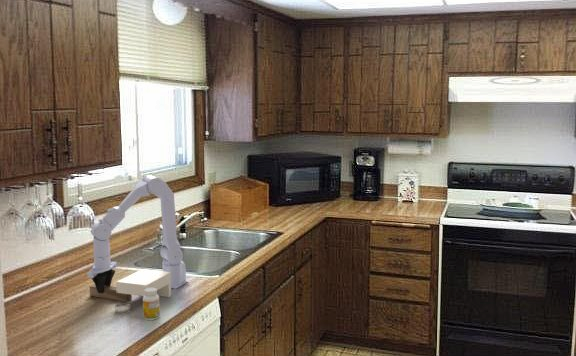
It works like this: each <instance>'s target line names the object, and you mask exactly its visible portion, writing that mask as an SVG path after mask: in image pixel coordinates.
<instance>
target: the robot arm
mask: <svg viewBox="0 0 576 356" xmlns="http://www.w3.org/2000/svg"><path fill="white" fill-rule="evenodd" d="M150 194H152V195H154V196H156V198H158V199H160V208H161V224H162V225H161V226H162V237H163V238H162V241H161V247H160V251H159V254H160V256H161V258H162V271H165V272H171V289H178V288H180V287H181V286H183V285H185V284H186V283H188V282H189V280H187V275H186V274H187V272H186V271H187V269H186V267H187V266H186V263H185V262H184V261H183V258H184V253H183V251H182V249H181V245H180V242H179V240H178V236H177V232H178V231H177V221H176V207H175V194H174V192H173V190H172V189H171V188H170V187H169V186H168V183H167V182H166V181H165V180H163V179H162V178H159V177H156V176H154V175H151V174H148V175H145V176H144V177H142V179H141V180H140V181H139V182H137V184H136V185H135V186H134V187H133V189H131V190H130V192H129V193H128V194H127V196H126V197H125V198H124V199H123V200H122V201H121V203H119V205H118V206H112V208H108V209H107V213H106V214H105V215H104V216H103V217H101V218H99V219H98V222H96V223H94V224H93V225H92V227H91V230H90V233H91V235H92V236H93V237H92V238H93V239H92V240H93V246H92V248H93V266H92V267H91V268H92V269H90V270H89V271H88V272H87V278H88V279H91V280H92V282H93V283H94V284H95V286H96V288H97V291H98V293H104V285H106V286H112V280H113V277H114V275H115V274H116V269H115V268H118V261H111V245H110V244H111V243H110V238H111V235H112V231H114V229H115V228H117V226H118V225H119V224H120V223H121V222H122V221H123V220H124V219H125V218H126V217H125V216H126V212H127V211H128V210H129V209H130V208H131V207H133V205H134V204H136V203H137V201H138V200H139V199H141V198H143V197H149V196H151V195H150Z"/></svg>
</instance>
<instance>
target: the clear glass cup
mask: <svg viewBox="0 0 576 356" xmlns="http://www.w3.org/2000/svg"><path fill="white" fill-rule="evenodd" d="M130 311H131V304H130V303H128V302H123V303H122V302H121V303H118V304H115V306H114V312H115V314H126V313H129V312H130Z"/></svg>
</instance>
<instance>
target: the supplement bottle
mask: <svg viewBox="0 0 576 356" xmlns="http://www.w3.org/2000/svg"><path fill="white" fill-rule="evenodd" d="M160 306H161V305H160V296H158V295H157V289H156V288H147V289H145V296H142V313H143V314H142V315H143V317H142V318H143V319H144V320H146V321H155V320H158V319H159V318H160V316H161V314H160V313H161V308H160Z"/></svg>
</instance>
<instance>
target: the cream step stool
mask: <svg viewBox="0 0 576 356" xmlns="http://www.w3.org/2000/svg"><path fill="white" fill-rule="evenodd" d="M116 287H117V290H116V293H123V294H131V295H132V296H139V297H144V296H145V289H147V288H156V289H157V295H158V296H159V297H165V298H170V297H171V296H172V288H171V272H165V271H163V270H155V269H146V268H142V269H140V270H138V271H136V272H134V273H131V274H130V275H128V276H126V277H123V278H121V279H119V280H116Z"/></svg>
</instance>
